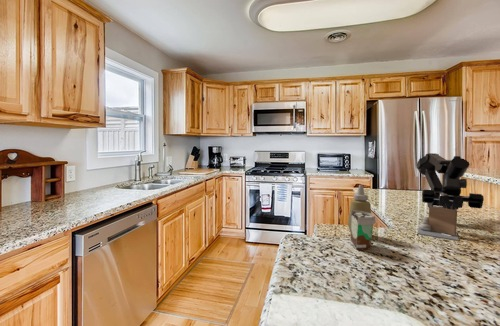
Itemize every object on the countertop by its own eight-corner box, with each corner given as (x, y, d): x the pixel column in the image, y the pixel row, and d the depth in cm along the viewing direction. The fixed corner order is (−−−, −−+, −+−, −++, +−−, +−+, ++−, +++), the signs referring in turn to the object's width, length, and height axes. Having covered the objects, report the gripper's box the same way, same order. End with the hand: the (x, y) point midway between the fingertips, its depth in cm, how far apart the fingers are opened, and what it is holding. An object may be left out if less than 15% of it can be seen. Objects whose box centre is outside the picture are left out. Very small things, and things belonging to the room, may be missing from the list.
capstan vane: (422, 227, 104) (423, 204, 104) (457, 234, 95) (458, 210, 95) (417, 228, 102) (418, 205, 102) (452, 236, 93) (453, 211, 92)
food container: (379, 253, 75) (381, 219, 75) (357, 251, 76) (358, 217, 76) (369, 240, 87) (370, 211, 87) (349, 239, 88) (350, 209, 88)
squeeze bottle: (371, 233, 96) (373, 184, 95) (371, 239, 88) (373, 186, 88) (348, 230, 99) (349, 183, 99) (346, 235, 92) (348, 185, 91)
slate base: (419, 226, 108) (419, 225, 108) (455, 232, 101) (456, 230, 101) (417, 234, 97) (417, 232, 97) (458, 240, 90) (458, 239, 90)
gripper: (423, 169, 107) (420, 199, 98) (484, 172, 96) (487, 206, 87) (423, 187, 113) (421, 216, 105) (480, 191, 102) (482, 225, 94)
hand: (450, 216), depth 97 cm, fingers closed
